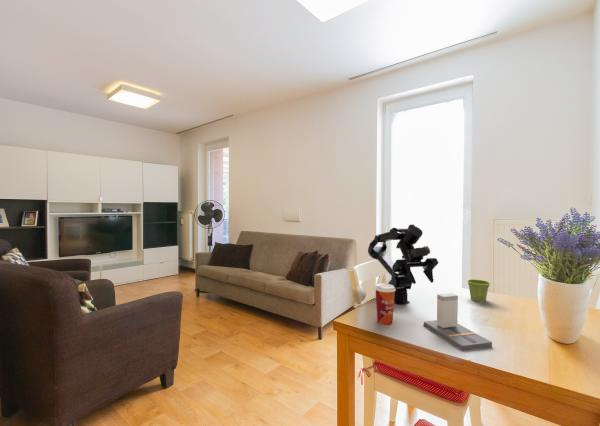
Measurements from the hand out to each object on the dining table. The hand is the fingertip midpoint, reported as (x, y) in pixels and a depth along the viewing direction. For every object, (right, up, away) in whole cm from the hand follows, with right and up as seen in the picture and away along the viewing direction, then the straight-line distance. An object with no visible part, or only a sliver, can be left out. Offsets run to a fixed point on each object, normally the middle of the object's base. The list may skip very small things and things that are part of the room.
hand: (423, 282), depth 118 cm
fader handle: (+3, -12, -13) cm, 18 cm away
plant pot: (+34, -13, +20) cm, 42 cm away
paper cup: (-17, -14, -5) cm, 23 cm away
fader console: (+4, -14, -17) cm, 22 cm away
